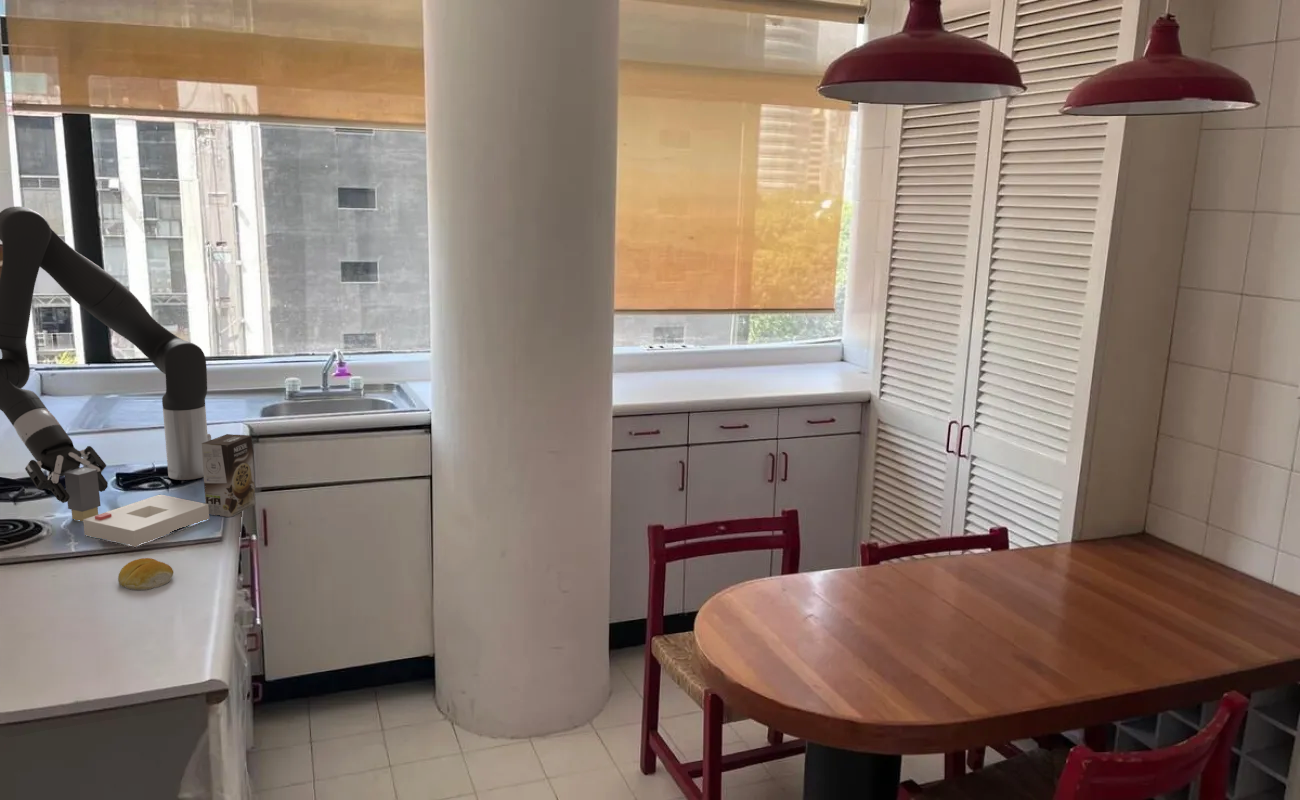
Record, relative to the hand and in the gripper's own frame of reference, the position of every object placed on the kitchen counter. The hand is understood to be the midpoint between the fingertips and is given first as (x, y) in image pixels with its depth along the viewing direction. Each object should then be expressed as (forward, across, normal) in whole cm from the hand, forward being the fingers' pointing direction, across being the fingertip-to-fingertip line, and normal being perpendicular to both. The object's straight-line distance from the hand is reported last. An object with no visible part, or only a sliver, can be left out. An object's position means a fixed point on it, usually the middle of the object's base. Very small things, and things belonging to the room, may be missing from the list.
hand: (86, 494), depth 196 cm
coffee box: (+19, +18, -11) cm, 28 cm away
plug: (+3, 0, +5) cm, 6 cm away
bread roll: (+30, -17, -22) cm, 41 cm away
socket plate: (+14, +2, -7) cm, 16 cm away
